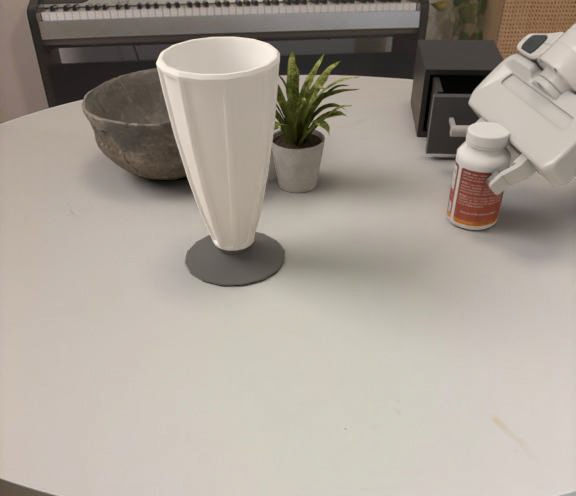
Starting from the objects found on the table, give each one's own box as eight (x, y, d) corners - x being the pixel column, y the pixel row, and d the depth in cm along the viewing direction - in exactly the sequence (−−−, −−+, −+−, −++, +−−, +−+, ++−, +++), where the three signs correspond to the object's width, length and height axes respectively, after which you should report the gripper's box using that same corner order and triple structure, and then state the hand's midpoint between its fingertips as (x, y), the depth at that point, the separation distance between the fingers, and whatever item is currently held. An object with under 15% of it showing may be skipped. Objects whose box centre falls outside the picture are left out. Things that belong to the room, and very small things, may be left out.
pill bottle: (507, 224, 78) (530, 134, 70) (466, 236, 76) (485, 145, 68) (475, 202, 82) (493, 114, 74) (435, 213, 80) (450, 124, 72)
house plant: (313, 225, 78) (316, 86, 67) (222, 197, 84) (210, 64, 72) (367, 179, 87) (377, 49, 75) (281, 156, 92) (279, 31, 81)
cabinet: (494, 137, 96) (509, 70, 89) (416, 136, 97) (425, 69, 90) (481, 103, 106) (493, 40, 99) (410, 102, 106) (417, 39, 100)
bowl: (128, 131, 99) (115, 62, 92) (258, 139, 96) (255, 69, 90) (73, 195, 85) (52, 118, 78) (224, 206, 82) (217, 128, 75)
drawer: (506, 169, 86) (520, 111, 81) (428, 168, 87) (437, 109, 82) (487, 119, 99) (498, 65, 93) (419, 118, 99) (426, 65, 94)
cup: (304, 249, 74) (305, 47, 59) (245, 299, 68) (230, 85, 53) (226, 222, 79) (208, 29, 64) (163, 266, 72) (128, 61, 57)
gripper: (646, 134, 64) (530, 233, 69) (544, 67, 78) (455, 153, 84) (621, 92, 60) (501, 199, 65) (520, 29, 74) (428, 121, 80)
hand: (475, 172), depth 75 cm, fingers open, 7 cm apart
